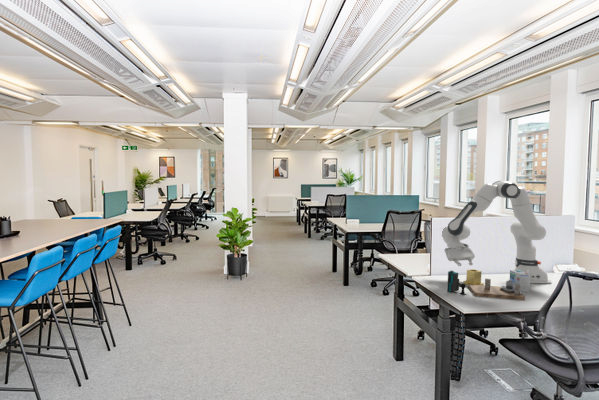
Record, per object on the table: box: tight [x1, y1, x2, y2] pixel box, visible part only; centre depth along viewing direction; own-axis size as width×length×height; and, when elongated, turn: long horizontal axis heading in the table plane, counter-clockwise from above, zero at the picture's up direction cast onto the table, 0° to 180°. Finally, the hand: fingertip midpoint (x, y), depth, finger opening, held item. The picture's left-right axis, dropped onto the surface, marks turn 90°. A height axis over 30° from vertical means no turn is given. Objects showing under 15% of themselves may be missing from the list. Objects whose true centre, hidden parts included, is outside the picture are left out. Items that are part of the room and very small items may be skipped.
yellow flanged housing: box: [462, 268, 485, 286], centre depth 242 cm, size 11×11×9 cm
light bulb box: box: [509, 269, 531, 292], centre depth 235 cm, size 11×7×11 cm, turn 3°
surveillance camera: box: [446, 270, 468, 296], centre depth 223 cm, size 6×12×10 cm
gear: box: [499, 279, 515, 293], centre depth 223 cm, size 10×9×6 cm
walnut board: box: [467, 278, 526, 301], centre depth 224 cm, size 26×18×8 cm
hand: (465, 265), depth 248 cm, fingers open, 8 cm apart
